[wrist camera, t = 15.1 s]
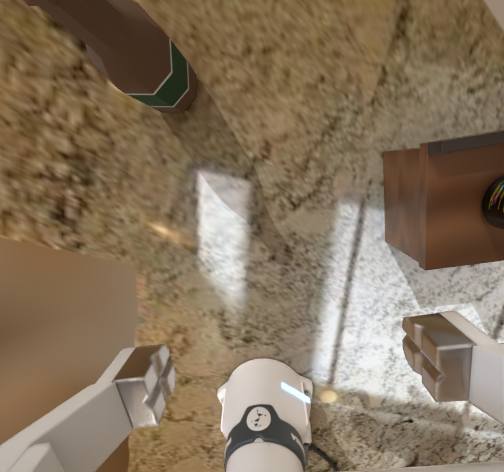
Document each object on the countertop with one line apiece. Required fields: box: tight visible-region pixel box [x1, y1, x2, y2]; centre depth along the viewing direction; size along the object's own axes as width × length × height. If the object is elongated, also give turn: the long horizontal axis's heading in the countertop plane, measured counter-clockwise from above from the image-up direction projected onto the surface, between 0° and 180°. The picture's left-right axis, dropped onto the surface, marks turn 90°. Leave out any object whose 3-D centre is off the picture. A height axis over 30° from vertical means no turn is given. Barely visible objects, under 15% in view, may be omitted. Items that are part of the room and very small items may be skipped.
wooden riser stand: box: [383, 130, 504, 270], centre depth 33 cm, size 15×18×13 cm
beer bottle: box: [24, 0, 196, 112], centre depth 25 cm, size 8×8×24 cm
